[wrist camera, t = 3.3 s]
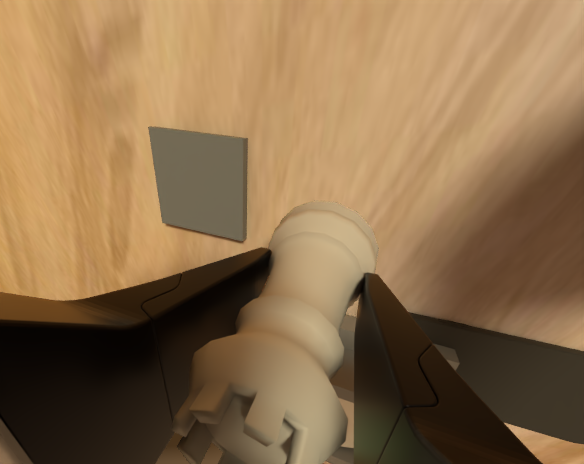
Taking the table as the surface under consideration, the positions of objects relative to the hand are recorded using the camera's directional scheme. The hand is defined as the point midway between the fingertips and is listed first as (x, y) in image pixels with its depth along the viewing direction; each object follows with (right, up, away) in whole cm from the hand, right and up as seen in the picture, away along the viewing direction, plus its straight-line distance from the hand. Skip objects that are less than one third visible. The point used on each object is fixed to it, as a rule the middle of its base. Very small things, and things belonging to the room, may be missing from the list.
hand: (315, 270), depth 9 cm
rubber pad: (-7, +5, +9) cm, 12 cm away
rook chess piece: (+1, +1, +2) cm, 2 cm away
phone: (+12, -8, +8) cm, 17 cm away
